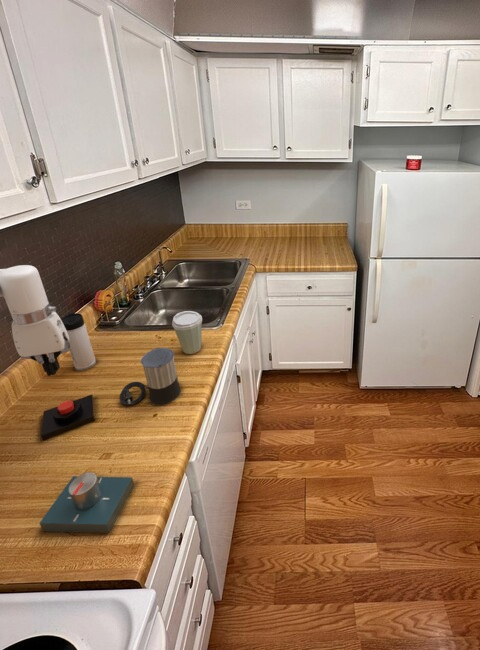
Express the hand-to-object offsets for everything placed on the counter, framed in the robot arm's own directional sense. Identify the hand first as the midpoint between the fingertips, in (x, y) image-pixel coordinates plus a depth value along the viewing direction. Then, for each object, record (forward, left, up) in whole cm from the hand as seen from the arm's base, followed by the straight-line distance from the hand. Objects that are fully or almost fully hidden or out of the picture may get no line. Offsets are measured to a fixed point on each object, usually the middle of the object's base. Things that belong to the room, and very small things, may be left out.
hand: (53, 372), depth 90 cm
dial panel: (+12, -30, -17) cm, 37 cm away
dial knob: (+13, -30, -14) cm, 35 cm away
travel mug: (-3, +26, -17) cm, 31 cm away
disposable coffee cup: (+33, +23, -17) cm, 44 cm away
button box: (0, 0, -17) cm, 17 cm away
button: (0, 0, -13) cm, 13 cm away
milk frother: (+21, +2, -17) cm, 28 cm away
